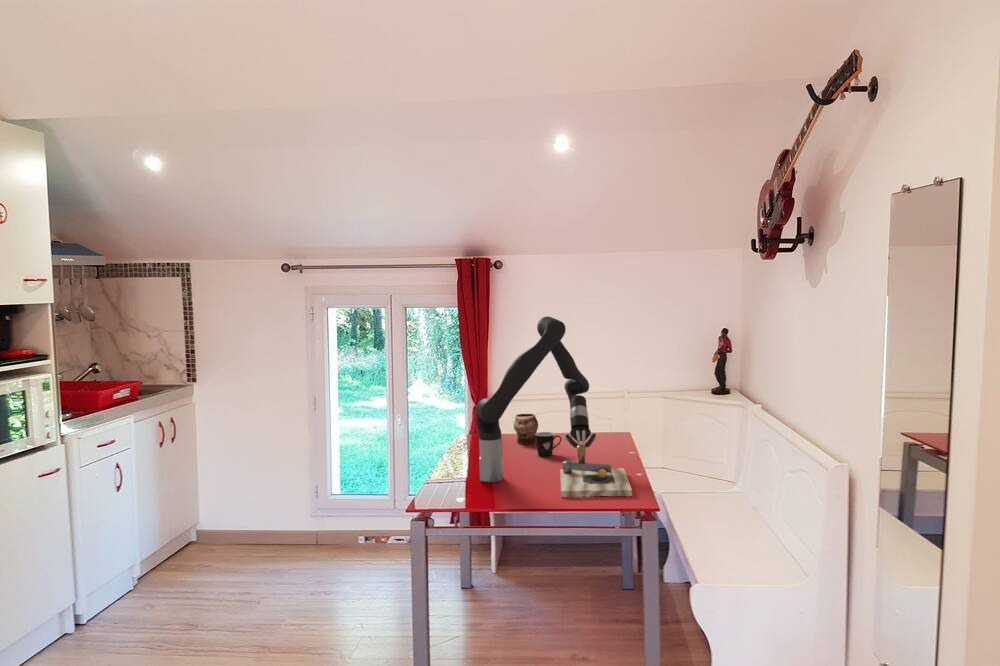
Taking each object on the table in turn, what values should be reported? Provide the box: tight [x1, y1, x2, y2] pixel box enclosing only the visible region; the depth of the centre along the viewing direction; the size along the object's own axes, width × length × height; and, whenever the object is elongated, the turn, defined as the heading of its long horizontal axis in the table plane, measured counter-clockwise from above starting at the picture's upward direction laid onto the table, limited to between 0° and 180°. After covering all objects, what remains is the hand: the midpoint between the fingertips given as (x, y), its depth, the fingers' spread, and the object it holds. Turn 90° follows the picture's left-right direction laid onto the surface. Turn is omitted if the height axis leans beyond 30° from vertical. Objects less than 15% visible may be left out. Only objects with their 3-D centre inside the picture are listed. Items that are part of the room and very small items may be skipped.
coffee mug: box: [535, 431, 562, 458], centre depth 305 cm, size 12×9×10 cm
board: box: [559, 467, 633, 498], centre depth 259 cm, size 26×28×2 cm
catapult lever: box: [562, 444, 612, 474], centre depth 265 cm, size 20×4×11 cm, turn 67°
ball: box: [598, 469, 607, 478], centre depth 260 cm, size 4×4×4 cm
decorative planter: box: [513, 413, 539, 445], centre depth 333 cm, size 20×12×14 cm, turn 173°
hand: (582, 455), depth 268 cm, fingers closed
